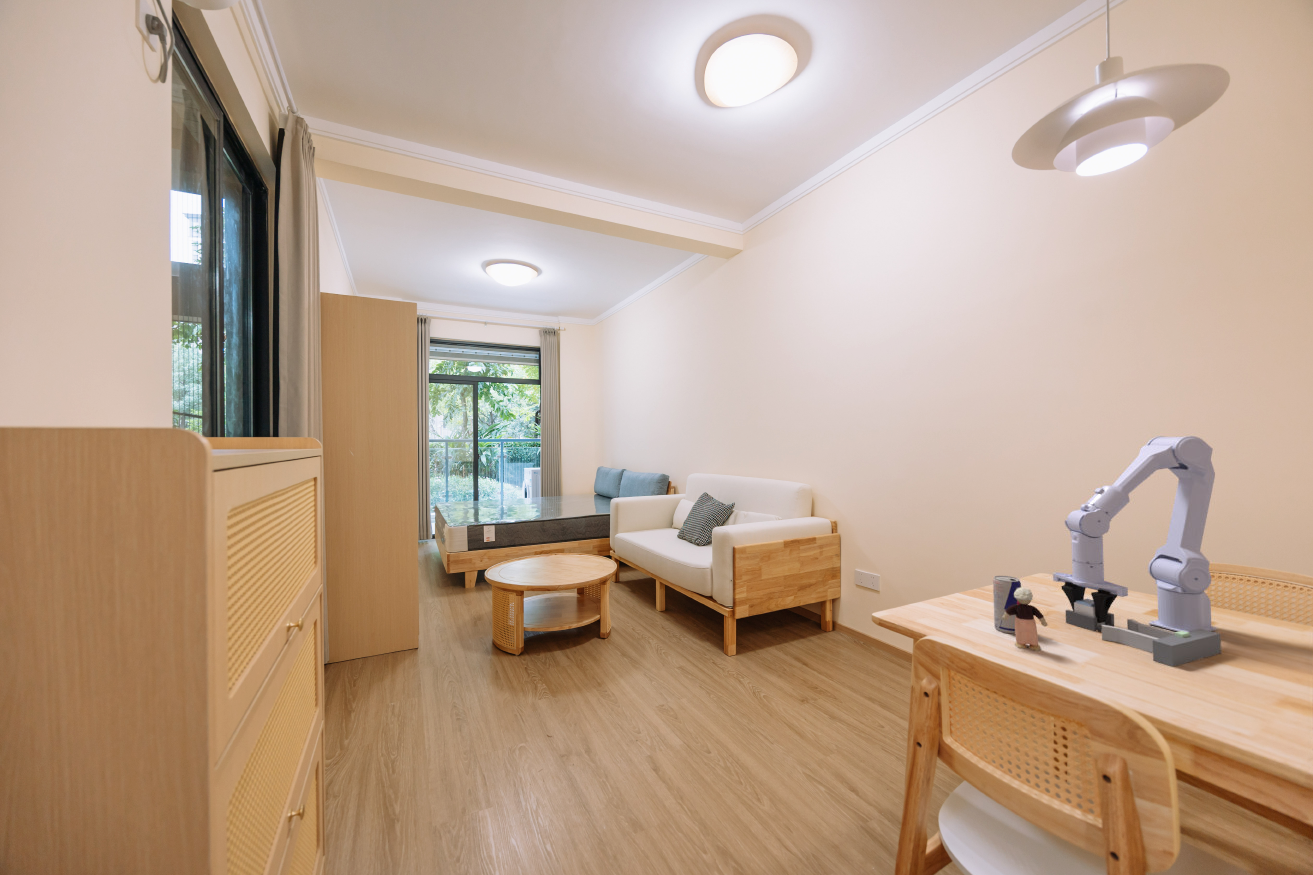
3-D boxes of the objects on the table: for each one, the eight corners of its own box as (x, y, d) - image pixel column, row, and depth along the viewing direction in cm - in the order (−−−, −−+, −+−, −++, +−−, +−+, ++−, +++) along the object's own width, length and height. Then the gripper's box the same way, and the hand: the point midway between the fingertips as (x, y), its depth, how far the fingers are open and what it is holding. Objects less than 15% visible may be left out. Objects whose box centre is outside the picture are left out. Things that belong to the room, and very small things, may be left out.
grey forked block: (1137, 629, 116) (1136, 609, 116) (1221, 653, 103) (1220, 630, 103) (1091, 640, 111) (1090, 619, 111) (1172, 666, 98) (1171, 642, 98)
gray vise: (1100, 614, 126) (1099, 602, 126) (1132, 623, 120) (1131, 610, 120) (1064, 622, 122) (1064, 609, 122) (1095, 631, 116) (1095, 618, 116)
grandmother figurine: (1042, 645, 109) (1040, 586, 109) (1050, 652, 106) (1047, 591, 106) (1001, 641, 112) (999, 583, 112) (1006, 648, 108) (1004, 588, 108)
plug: (1085, 620, 123) (1085, 598, 123) (1105, 626, 119) (1104, 602, 119) (1074, 623, 121) (1073, 600, 121) (1093, 628, 117) (1093, 605, 117)
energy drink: (1027, 634, 115) (1025, 581, 115) (1000, 633, 116) (999, 581, 116) (1015, 626, 120) (1013, 575, 120) (990, 625, 121) (988, 575, 121)
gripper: (1043, 556, 126) (1045, 611, 126) (1112, 570, 112) (1114, 631, 112) (1063, 553, 128) (1065, 607, 128) (1133, 566, 114) (1135, 627, 114)
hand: (1089, 618), depth 120 cm, fingers closed on plug, 4 cm apart
